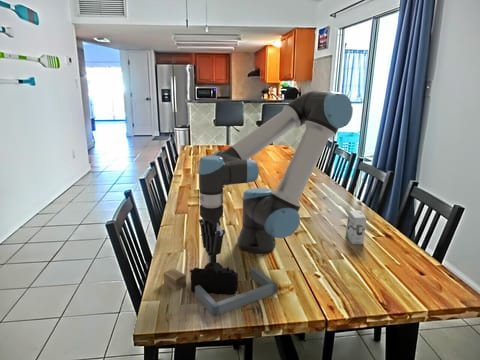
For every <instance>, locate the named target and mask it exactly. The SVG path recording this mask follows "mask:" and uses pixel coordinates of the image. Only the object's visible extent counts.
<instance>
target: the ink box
mask: <svg viewBox="0 0 480 360" xmlns="http://www.w3.org/2000/svg"><path fill="white" fill-rule="evenodd" d="M346 221H347V222H346V230H345V231H346V232H345V237H346V238H347V240H348V241H349V243H351V245H364V244H365V243H364V241H365V234H366V233H365V232H366V224H367V217H366V216H365V214H364V213H363V212H362V211H361V210H360V209H359V210H357V209H356V210H348V214H347V220H346Z"/></svg>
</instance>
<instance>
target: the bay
mask: <svg viewBox="0 0 480 360" xmlns="http://www.w3.org/2000/svg"><path fill="white" fill-rule="evenodd" d="M250 277H251V278H252V279H253V280H254V281H255V282H257V283H258V284H259V285H260V286H259V287H257V288H254V289H250V290H248V291H244V292H242V293H239V294H235V296H231V297H228V298H225V299H223V300H220V301H217V302H216V301H215V300H214V299H213V297H212V296H211V294H208V293H207V292H206V291H205V290H204V289H203V288H202V287H201V286H200V285H197V286H195V293H194V295H195V297H196V298H197V299H198V300H199V301H200V302H201V304H203V306H204V307H205V308H206V309H207V311H209V312H210V314H211V315H212V316H213V317H217V316H220V315H222V314H225V313H227V312H229V311H233V310H236V309H238V308H241V307H243V306H246V305H249V304H251V303H254V302H256V301H259V300H262V299H264V298H267V297H270V296H272V295H275V294H277V292H278V291H277V290H278V283H276V282H274V281H273V280H272V279H271V278H270V277H268V276H267V275H265V274H264V273H263V272H262V271H260V270H259V269H258V268H256V266H255V267H251V268H250Z"/></svg>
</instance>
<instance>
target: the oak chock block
mask: <svg viewBox="0 0 480 360" xmlns="http://www.w3.org/2000/svg"><path fill="white" fill-rule="evenodd" d="M186 278H187V277H186V274H185V273H183V272H182V271H180V270H178V269H176V268H171V269H168V270H167V271H165V272H163V284H164V285H166V286H167V287H169V288H170V289H172V290H174V291H178V290H180V289H182V288H185V287H186V286H187V280H186Z"/></svg>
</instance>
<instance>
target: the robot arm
mask: <svg viewBox="0 0 480 360" xmlns="http://www.w3.org/2000/svg"><path fill="white" fill-rule="evenodd" d="M353 108H354V107H353V106H352V100H351V99H350V97H348V96H347V95H346V93H343V92H337V91H334V90H333V91H322V90H321V91H320V90H312V91H311V90H310V91H308V92H306V93H303V94H301V95H299V96H298V97H296V98H295V99H294V100H291V101H289V102H288V103H287V104H285V105H284V106H282V111H280V112H279V113H277V114H276V115H275V116H273V117H272V118H270V119H268V120H266V121H265V123H263V124H261V125H260V126H258V127H257V128H256V129H254V130H252V131H251V132H250V133H248V134H247V135H246V136H243V138H241V139H240V140H238V141H236V142H235V143H234V144H232V145H231V146H229V147H228V148H227V149H225V150H218V151H215V152H214V153H213V154H212V155H204V156H201V157H200V159H198V160H199V161H198V183H199V184H198V187H199V188H198V189H199V190H198V191H199V196H198V199H199V216H200V219H198V223H199V226H200V233H201V241H202V247H203V249H205V252H206V259H207V260H206V263H207V264H208V263H211V262H218V261H217V255H220V254H222V246H223V241H224V236H225V232H226V230H225V229H222V228H221V221H220V220H221V218H222V217H223V215H224V186H230V185H231V186H232V185H238V184H239V185H240V184H248V183H253V182H256V181H257V180H258V178H259V176H260V175H259V174H260V170H259V165H258V162H257V161H256V160H254V159H251V158H252V157H254V156H255V155H257V154H258V153H259V152H261V151H262V150H264V149H265V148H266V147H268V146H270V145H271V144H273V143H274V142H275V141H277V140H278V139H280V138H281V137H282V136H284V135H286V134H287V133H288V132H289V131H291V130H293V129H299V128H300V127H301V126H303V125H305V130H304V133H303V135H302V136H301V137H300V138H301V139H300V141H299V143H298V145H297V147H296V149H295V151H294V153H293V154H292V157H291V159H290V161H289V164H288V166H287V167H286V170H285V172H284V173H283V175H282V177H281V180H280V182H279V184H278V186H277V187H276V189H274V190H273V189H272V188H267V187H266V188H265V187H256V188H255V187H254V188H250V189H246V190H245V191H244V192H243V193H242V194H243V196H242V226H241V229H240V232H239V235H238V237H237V246H238V248H239V249H241V250H242V251H244V252H247V253H251V254H264V253H269V252H271V251H273V250H274V249H275V248H276V243H277V241H276V239H286V238H287V237H291V236H292V235H293V234H294V233H295V232H296V231H297V230H298V228H299V227H300V223H301V217H300V213H299V210H300V208H301V207H302V206H301V204H300V199H301V197H302V194H303V192H304V191H305V188H306V186H307V184H308V182H309V181H310V178H311V176H312V174H313V172H314V170H315V168H316V166H317V164H318V162H319V159H320V158H321V156H322V153H323V152H324V149H325V147H326V145H327V143H328V141H329V139H330V138H333V137H336V135H337V133H338V131H339V129H342V128H345V127H346V126H347V125H349V123H350V122H351V120H352V117H353V112H354V111H353V110H354V109H353Z"/></svg>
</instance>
